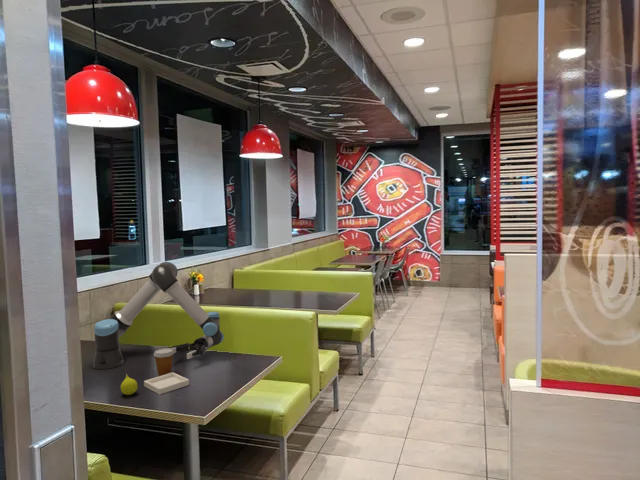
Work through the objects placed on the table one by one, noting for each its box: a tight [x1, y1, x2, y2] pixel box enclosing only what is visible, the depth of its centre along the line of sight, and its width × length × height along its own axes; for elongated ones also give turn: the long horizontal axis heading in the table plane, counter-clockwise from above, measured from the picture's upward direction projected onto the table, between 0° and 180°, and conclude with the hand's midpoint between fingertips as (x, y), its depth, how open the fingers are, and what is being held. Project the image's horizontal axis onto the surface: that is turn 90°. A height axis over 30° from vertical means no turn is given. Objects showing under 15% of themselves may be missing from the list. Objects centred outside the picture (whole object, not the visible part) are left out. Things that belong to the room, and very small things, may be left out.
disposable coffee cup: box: [153, 347, 175, 377], centre depth 234 cm, size 10×10×12 cm
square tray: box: [143, 371, 190, 396], centre depth 219 cm, size 15×15×2 cm
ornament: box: [120, 373, 138, 396], centre depth 209 cm, size 7×7×10 cm
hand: (176, 355), depth 242 cm, fingers open, 13 cm apart
